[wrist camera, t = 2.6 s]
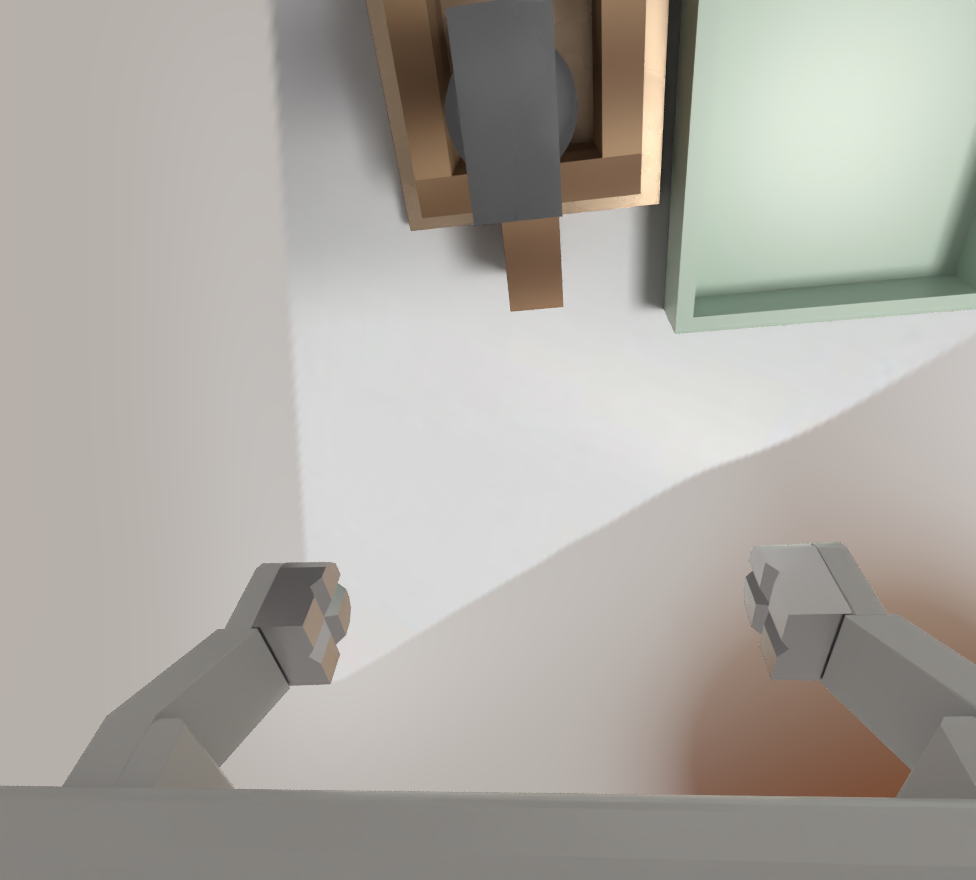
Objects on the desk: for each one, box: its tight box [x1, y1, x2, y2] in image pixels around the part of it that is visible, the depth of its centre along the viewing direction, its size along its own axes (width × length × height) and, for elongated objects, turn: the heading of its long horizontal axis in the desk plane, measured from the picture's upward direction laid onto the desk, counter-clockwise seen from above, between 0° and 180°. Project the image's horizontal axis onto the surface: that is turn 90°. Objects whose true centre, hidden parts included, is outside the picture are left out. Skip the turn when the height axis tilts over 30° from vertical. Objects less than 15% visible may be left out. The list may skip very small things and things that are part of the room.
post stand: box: [366, 0, 669, 231], centre depth 19 cm, size 12×12×16 cm
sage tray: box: [664, 0, 976, 334], centre depth 23 cm, size 20×15×3 cm
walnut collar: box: [383, 0, 646, 312], centre depth 24 cm, size 14×9×4 cm, turn 7°
